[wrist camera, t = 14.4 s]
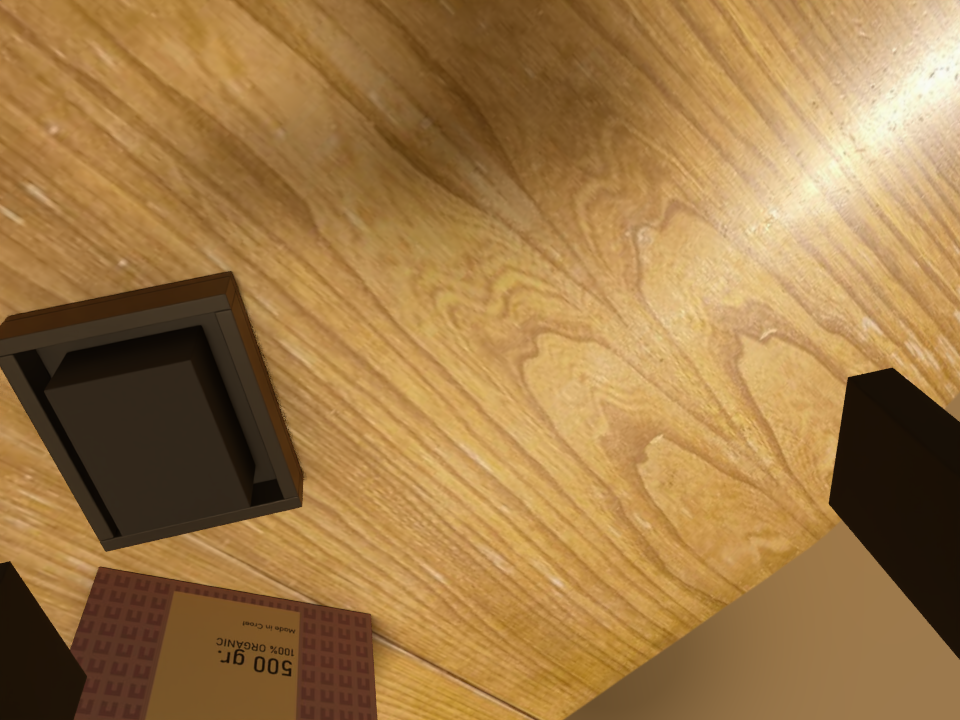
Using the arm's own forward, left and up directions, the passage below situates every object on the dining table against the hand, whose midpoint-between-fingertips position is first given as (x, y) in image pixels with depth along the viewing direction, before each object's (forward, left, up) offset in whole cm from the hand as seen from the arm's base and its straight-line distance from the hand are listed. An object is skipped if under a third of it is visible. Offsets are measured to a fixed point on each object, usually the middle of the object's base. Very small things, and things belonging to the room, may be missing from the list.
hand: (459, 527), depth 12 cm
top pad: (+12, -13, -25) cm, 31 cm away
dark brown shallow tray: (+12, -13, -26) cm, 31 cm away
